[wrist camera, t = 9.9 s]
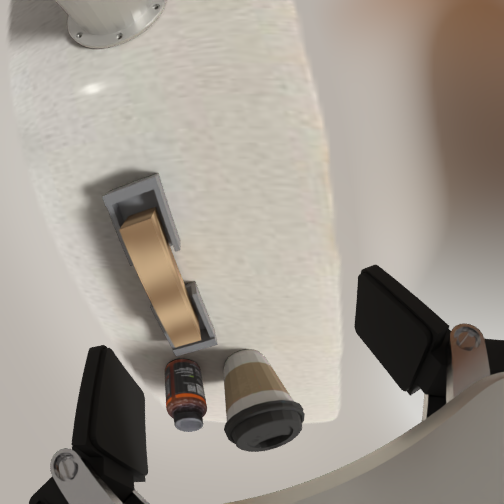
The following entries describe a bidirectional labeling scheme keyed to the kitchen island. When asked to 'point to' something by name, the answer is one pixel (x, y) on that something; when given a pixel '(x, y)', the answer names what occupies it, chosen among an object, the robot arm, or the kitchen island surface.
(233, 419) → the coffee cup
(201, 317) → the cap
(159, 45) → the kitchen island surface
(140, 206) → the cap
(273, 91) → the kitchen island surface
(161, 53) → the kitchen island surface
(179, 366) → the supplement bottle
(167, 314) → the light wood rectangular block
